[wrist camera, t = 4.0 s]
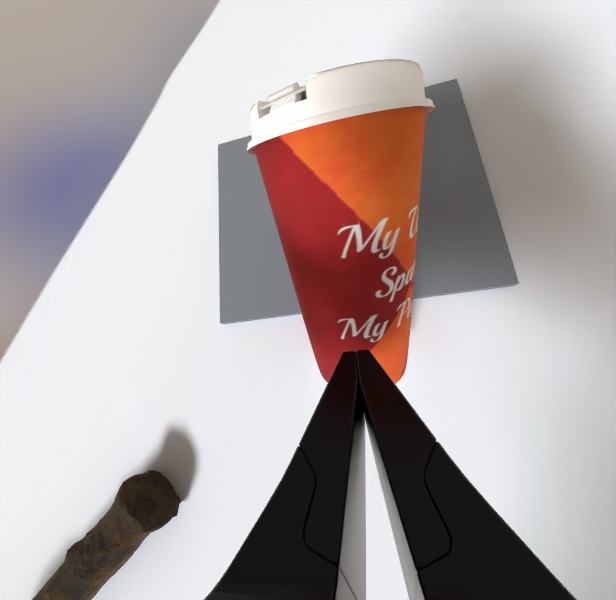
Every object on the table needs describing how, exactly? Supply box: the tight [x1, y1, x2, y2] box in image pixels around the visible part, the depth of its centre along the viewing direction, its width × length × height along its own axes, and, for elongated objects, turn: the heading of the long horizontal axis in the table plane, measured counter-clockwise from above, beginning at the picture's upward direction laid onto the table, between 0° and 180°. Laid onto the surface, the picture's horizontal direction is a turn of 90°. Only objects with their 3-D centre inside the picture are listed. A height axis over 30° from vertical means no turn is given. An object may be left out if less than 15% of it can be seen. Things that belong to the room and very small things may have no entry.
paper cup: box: [247, 59, 435, 384], centre depth 13 cm, size 8×8×14 cm
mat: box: [218, 79, 519, 324], centre depth 21 cm, size 18×22×1 cm
